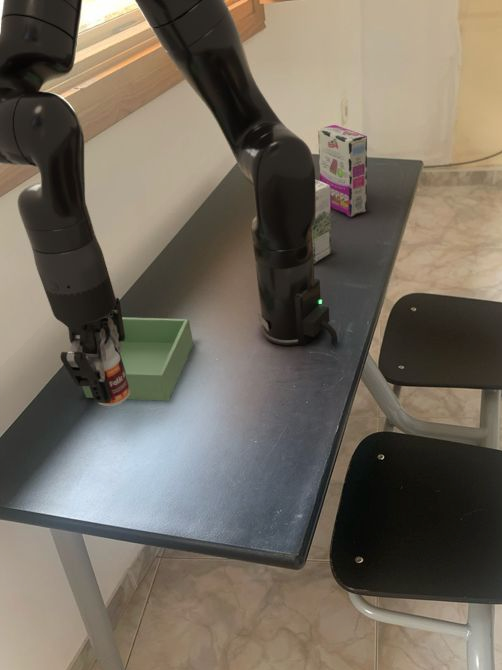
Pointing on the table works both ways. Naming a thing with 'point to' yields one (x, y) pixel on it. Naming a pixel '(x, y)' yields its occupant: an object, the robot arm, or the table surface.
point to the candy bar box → (344, 168)
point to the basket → (153, 356)
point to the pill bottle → (114, 375)
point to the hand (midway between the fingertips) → (111, 387)
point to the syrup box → (321, 222)
